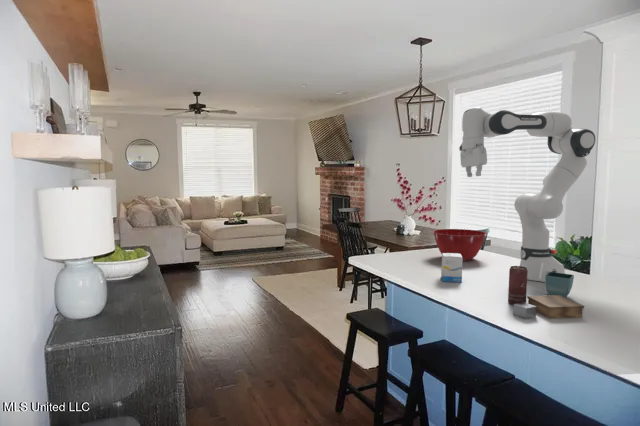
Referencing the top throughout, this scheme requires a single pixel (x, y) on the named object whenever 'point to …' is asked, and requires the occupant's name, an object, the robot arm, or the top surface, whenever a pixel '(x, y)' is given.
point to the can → (517, 284)
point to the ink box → (451, 267)
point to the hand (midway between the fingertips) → (473, 176)
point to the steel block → (524, 310)
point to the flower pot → (558, 283)
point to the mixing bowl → (459, 241)
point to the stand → (556, 306)
